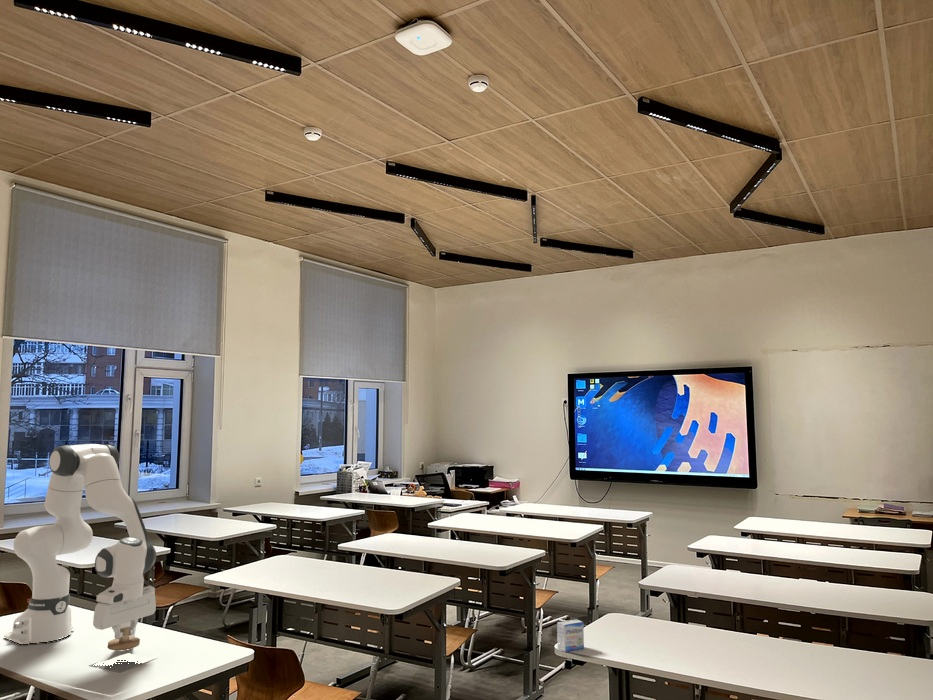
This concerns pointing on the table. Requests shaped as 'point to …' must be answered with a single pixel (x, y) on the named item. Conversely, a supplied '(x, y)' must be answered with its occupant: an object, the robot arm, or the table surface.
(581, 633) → the medicine box
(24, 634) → the robot arm
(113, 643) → the lid
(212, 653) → the table surface
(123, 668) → the mat
